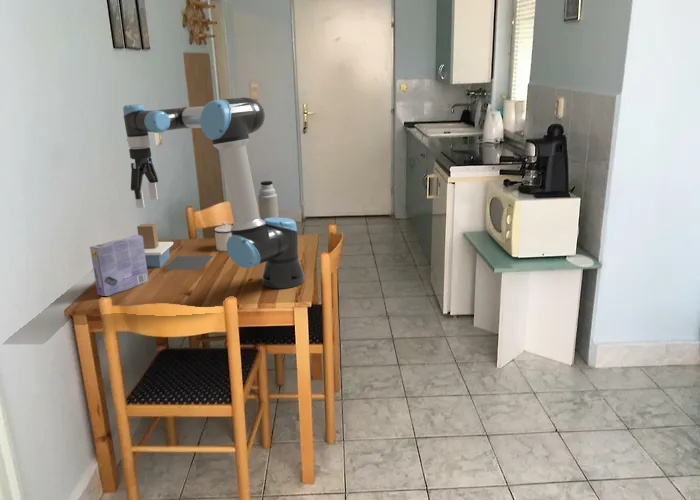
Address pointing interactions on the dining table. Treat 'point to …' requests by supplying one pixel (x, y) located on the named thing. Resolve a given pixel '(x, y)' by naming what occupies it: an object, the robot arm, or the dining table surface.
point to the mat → (188, 263)
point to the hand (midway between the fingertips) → (147, 203)
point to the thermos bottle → (267, 201)
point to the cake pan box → (119, 265)
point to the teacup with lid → (222, 236)
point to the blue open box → (157, 259)
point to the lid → (152, 240)
